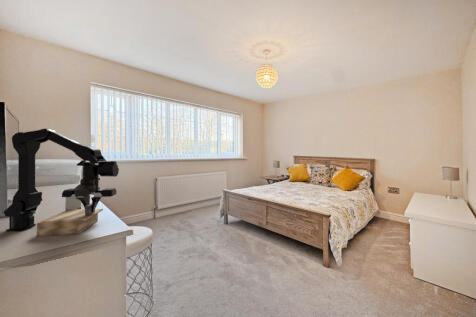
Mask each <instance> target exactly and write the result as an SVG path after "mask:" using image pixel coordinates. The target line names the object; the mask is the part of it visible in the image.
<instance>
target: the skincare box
mask: <svg viewBox="0 0 476 317" xmlns="http://www.w3.org/2000/svg"><path fill="white" fill-rule="evenodd" d="M64 206H65V207H64V211H67V210H77V209H83V207H82V206H83V204H82V202H81V201H80V200H79V199H76V197H75V195H72V196H71V197H65V205H64Z"/></svg>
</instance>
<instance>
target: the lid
mask: <svg viewBox="0 0 476 317" xmlns="http://www.w3.org/2000/svg"><path fill="white" fill-rule="evenodd" d="M103 211H104V208H95V211H94V212H93V213H92V202H90V204H89V205H87V206H85V208H82V209H77V210H67V211H65V210H64V211H61V212H62V213H61V212H59V213H60V214H59V213H57V214H55V216H54V215H53V217H52V216H49V217H47V218H48V219H47V218H46V220H45V219H43V220H41V221H42V223H49V222H76V221H86V220H87V219H89V218H91V217H92V216H94V215H96V214H97V213H98V214H99V213H100V212H103Z"/></svg>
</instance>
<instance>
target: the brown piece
mask: <svg viewBox="0 0 476 317" xmlns="http://www.w3.org/2000/svg"><path fill="white" fill-rule="evenodd" d="M62 212H63V211H61V212H59V213H58V214H60V213H62ZM55 215H56V214H55ZM55 215H53V216H55ZM53 216H51V217H53ZM48 218H49V217H47V218H46V219H48ZM46 219H44V220H46ZM42 221H43V220H41V221H39V222H36V237H45V236H46V237H47V236H64V235H66V236H67V235H79V234H81V233H83V232H84V231H86V230H87V229H88V228H90V227H91V226H93V225H94V224H96V223H97V222H99V213H97V214H96V215H94V216H92V217H91V218H89V219H87V220H86V221H76V222H49V223H42Z"/></svg>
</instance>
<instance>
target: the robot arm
mask: <svg viewBox="0 0 476 317" xmlns="http://www.w3.org/2000/svg"><path fill="white" fill-rule="evenodd" d="M48 141H50V142H53V143H54V144H57V145H59V146H61V147H63V148H66V149H67V150H69V151H72V153H74V154H75V156H77V157H79V159H81V160H80V162H78V163H77V164H76V166H78V167H82V179H80V182H79V184H77V186H75V187H73V188H68V189H64V190H63V191H62V192H61V198H66V197H71V196H72V195H75V197H76V199H79V200H80V201H81V202H82V206H83V209H85V206H87V205H89V204H91V203H92V213H93V212H94V211H95V209H97V206H98V204H99V202H100V200H101V198H104V197H105V198H107V197H108V198H110V197H114V196H115V195H117V189H116V188H115V187H113V188H112V187H110V188H108V187H107V188H103V189H101V187H100V185H99V184H100V180H101V178H100V177H106V178H107V177H108V178H109V177H110V178H111V177H112V178H113V177H114V178H115V177H118V174H119V171H120V169H119V166H118V164H117V160H110V161H108V160H106V158H105V157H104V156H103V154H102V151H101V149H100V148H98V147H96V146H92V145H88V144H83V143H81V142H78V141H76V140H74V139H72V138H70V137H68V136H66V135H64V134H61V133H60V132H58V131H56V130H54V129H50V128H41V129H37V130H31V131H24V132H23V131H20V132H19V131H18V132H16V133H15V134H13V135H12V137H11V143H12V147H13V149H14V150H15V152H16V153H17V156H18V159H17V160H18V161H17V162H18V164H17V165H18V172H17V173H18V177H17V178H18V180H17V182H18V184H17V186H18V188H17V191H16V192H15V194H14V195H13V197H12V201H11V202H12V203H11V205H9V207H7V208H6V209H5V210H3V214H4V216H5V217H8V218H9V219H8V221H9V223H8V224H9V228H6V229H5V232H15V231H16V232H17V231H25V230H29V229H30V228H33V227H34V226H37V223H35V215H34V212H36V211H37V210H38V207H39V206H41V203H42V202H43V197H42V196H43V192H42V191H38V190H37V188H36V155H37V153H38V151H39V150H40V148H41V144H42V143H46V142H48ZM100 189H101V190H100ZM91 195H92V197H91ZM90 200H91V201H92V202H90Z"/></svg>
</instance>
